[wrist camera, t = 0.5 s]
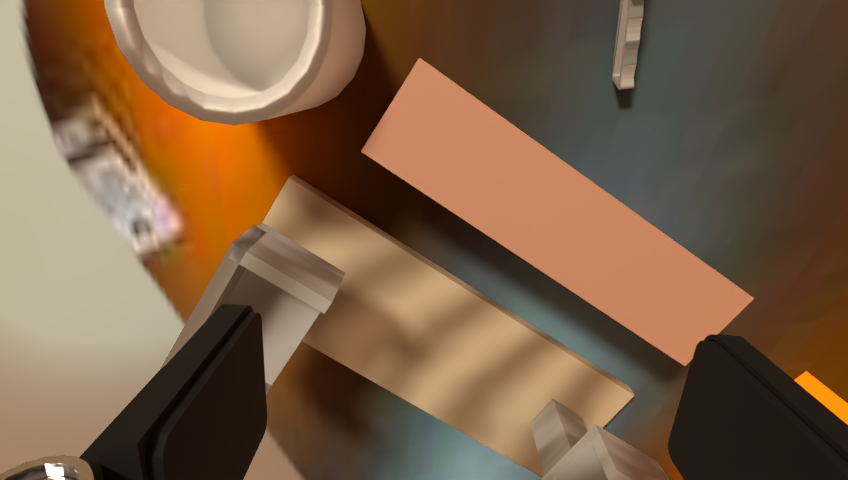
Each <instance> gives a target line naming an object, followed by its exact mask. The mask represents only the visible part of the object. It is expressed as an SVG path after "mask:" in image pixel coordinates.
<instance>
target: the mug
mask: <svg viewBox="0 0 848 480" xmlns="http://www.w3.org/2000/svg"><path fill="white" fill-rule="evenodd" d="M104 2H105V10H106V13H107V16H108V19H109V22H110V24H111V27H112V30H113V33H114V36H115V39H116V42H117V45H118V47H119V49H120V50H121V51H122V53H123V54H124V56H125V57H126V59H127V60H128V62H129V63H130V65H131V66H132V68H133V69H134V71H135V72H136V74H137V75H138V77H139V78H140V80H141V81H143V82H144V83H145V84H146V85H147V86H148V87H149V88H151V89H152V90H153V91H154V92H155V93H156V94H157V95H159V96H160V97H161V98H162V99H163V100H164V101H165V102H166V103H168V104H169V105H171V106H173V107H175V108H177V109H179V110H181V111H183V112H185V113H187V114H189V115H192V116H194V117H196V118H198V119H200V120H204V121H210V122H217V123H223V124H230V125H239V124H245V123H250V122H256V121H262V120H267V119H271V118H275V117H279V116H283V115H287V114H291V113H295V112H299V111H303V110H307V109H311V108H314V107H318V106H320V105H322V104H324V103H326V102H327V101H329V100H331V99H333V98H334V97H336V96H338V95H339V94H340V93H341V92H342V91H343V89H344V88H345V87H346V86H347V85H348V84H349V83H350V81H351V80H352V79H353V78H354V76H355V74H356V71H357V69H358V67H359V64H360V62H361V60H362V57H363V54H364V44H365V34H366V26H365V21H364V16H363V11H362V5H361V2H360V0H104Z"/></svg>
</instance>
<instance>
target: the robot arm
mask: <svg viewBox="0 0 848 480" xmlns="http://www.w3.org/2000/svg"><path fill="white" fill-rule="evenodd" d="M266 424H267V405H266V387H265V368H264V350H263V332H262V318H261V314H260V313H254V311H253V308H252V307H251V306H250V305H234V304H222V305H221V306H219V308H218V309H217V310H216V311H215V312H214V313H213V314H212V315H211V316H210V317H209V318H208V320H207V321H206V322H205V323H204V324H203V325H202V326H201V327H200V328H199V329H198V330H197V332H196V333H195V334H194V335H193V336H192V337H191V338H190V339H189V340H188V341H187V342H186V344H185V345H184V346H183V347H182V348H181V349H180V350H179V351H178V352H177V353H176V354H175V355H174V357H173V358H172V359H171V360H170V361H169V362H168V363H167V364H166V365H165V366H164V367H163V368H162V369H160V371H159V372H158V373H157V374H156V375H155V376H154V377H153V378H152V379H151V380H150V381H149V383H148V384H147V385H146V386H145V387H144V388H143V389H142V390H141V391H140V392H139V393H138V394H137V396H136V397H135V398H134V399H133V400H132V401H131V402H130V403H129V404H128V405H127V406H126V407H125V409H124V410H123V411H122V412H121V413H120V414H119V415H118V416H117V417H116V418H115V419H114V420H113V422H112V423H111V424H110V425H109V426H108V427H107V428H106V429H105V430H104V431H103V433H101V435H100V436H99V437H98V438H97V439H96V440H95V441H94V442H93V443H92V445H91V446H90V447H89V448H88V449H87V450H86V451H85V452H84V453H83V454H82V455H81V456H80V457H79V458H78V457H73V456H66V455H60V456H50V457H44V458H40V459H36V460H33V461H29V462H26V463H23V464H21V465H19V466H16V467H14V468H12V469H9V470H7V471H5V472H3V473H2V474H0V480H243V479H244V476H245V474H246V472H247V470H248V468H249V466H250V464H251V462H252V459H253V457H254V455H255V453H256V451H257V449H258V446H259V444H260V442H261V440H262V438H263V435H264V433H265V429H266ZM668 449H669V454H670V457H671V459H672V461H673V463H674V464H675V466H676V467H677V469H678V471H679V472H680V474H681V475H682V477H683V478H684V480H848V425H847V424H846V423H845V422H844V421H842V420H841V419H840V418H839V417H838V416H836V415H835V414H834V413H833V412H832V411H830V410H829V409H828V408H827V407H826V406H824V405H823V404H822V403H821V402H820V401H818V400H817V399H816V398H815V397H814V396H812V395H811V394H810V393H809V392H808V391H806V390H805V389H804V388H803V387H802V386H800V385H799V384H798V383H797V382H796V381H794V380H793V379H792V378H791V377H789V376H788V375H787V374H786V373H785V372H783V371H782V370H781V369H780V368H779V367H777V366H776V365H775V364H774V363H773V362H771V361H770V360H769V359H768V358H767V357H765V356H764V355H763V354H762V353H761V352H759V351H758V350H757V349H756V348H755V347H753V346H752V345H751V344H750V343H749V342H747V341H746V340H745V339H744V338H742V337H740V336H730V335H714V334H711V335H708V336H707V337H706V338H705V339H704V341H700V342H699V343H698V344H697V346H696V348H695V352H694V355H693V359H692V362H691V366H690V369H689V372H688V376H687V379H686V383H685V386H684V390H683V393H682V396H681V400H680V403H679V407H678V410H677V414H676V417H675V421H674V424H673V427H672V431H671V434H670V438H669V442H668Z"/></svg>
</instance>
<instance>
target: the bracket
mask: <svg viewBox="0 0 848 480" xmlns="http://www.w3.org/2000/svg"><path fill="white" fill-rule="evenodd" d="M643 6H644V0H621V2H620V10H619V19H618V27H617V35H616V43H615V51H614V59H613V76H612V80H613V82H614V83H615V85H616V86H617V88H618V89H619V90H621V89H630V88H633V87H634V73H635V68H636V64H637V52H638V47H639V43H640V30H641V24H642V19H643Z"/></svg>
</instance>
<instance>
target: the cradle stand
mask: <svg viewBox="0 0 848 480" xmlns="http://www.w3.org/2000/svg"><path fill="white" fill-rule="evenodd" d="M222 304H234V305H250V306H251V307H252V308H253V311H254V313H260V314H261V318H262V332H263V350H264V368H265V387H266V395H267V393H268V391H269V389H270V387H271V385H272V384H273V382H274V381H275V379H276V378H277V376H278V375H279V373H280V372H281V370H282V369H283V367H284V366H285V364H286V363H287V361H288V360H289V358H290V357H291V355H292V354H293V352H294V351H295V349H296V348H297V346H298V345H299V343H300V342H301V341H302V342H304V343H306V344H308V345H309V346H311V347H313V348H315V349H316V350H318V351H320V352H322V353H323V354H325V355H327V356H329V357H330V358H332V359H334V360H336V361H337V362H339V363H341V364H343V365H345V366H346V367H348V368H350V369H352V370H353V371H355V372H357V373H359V374H360V375H362V376H364V377H366V378H367V379H369V380H371V381H373V382H375V383H376V384H378V385H380V386H382V387H383V388H385V389H387V390H389V391H390V392H392V393H394V394H396V395H397V396H399V397H401V398H403V399H404V400H406V401H408V402H410V403H412V404H413V405H415V406H417V407H419V408H420V409H422V410H424V411H426V412H427V413H429V414H431V415H433V416H434V417H436V418H438V419H440V420H442V421H443V422H445V423H447V424H449V425H450V426H452V427H454V428H456V429H457V430H459V431H461V432H463V433H464V434H466V435H468V436H470V437H471V438H473V439H475V440H477V441H479V442H480V443H482V444H484V445H486V446H487V447H489V448H491V449H493V450H494V451H496V452H498V453H500V454H501V455H503V456H505V457H507V458H509V459H510V460H512V461H514V462H516V463H517V464H519V465H521V466H523V467H524V468H526V469H528V470H530V471H531V472H533V473H535V474H537V475H538V476H540V477H542V479H541V480H670V479H669V477H668V476H667V474H666V473H665V472H664V471H663V470H662V468H661V466H660V465H659V463H658V462H657V461H655V460H654V459H652V458H650V457H649V456H647V455H645V454H644V453H642V452H640V451H639V450H637V449H636V448H634V447H632V446H631V445H629V444H627V443H626V442H624V441H622V440H621V439H619V438H617V437H616V436H614V435H612V434H611V433H609V432H607V431H606V430H604V429H603V427H604V426H605V425H606V424H607V423H608V422H609V421H610V420H611V419H612V418H613V417H614V416H615V415H616V414H617V413H618V412H619V411H620V410H621V409H622V408H623V407H624V406H625V405H626V404H627V403H628V402H629V401H630V400H631V399H632V398H633V397H634V396H635V395H634V394H633V392H632V391H631V389H630V387H629V386H628V385H626V384H624V383H623V382H621V381H620V380H618V379H616V378H615V377H613V376H612V375H610V374H609V373H607V372H605V371H604V370H602V369H601V368H599V367H598V366H596V365H594V364H593V363H591V362H590V361H588V360H586V359H585V358H583V357H582V356H580V355H579V354H577V353H575V352H574V351H572V350H571V349H569V348H567V347H566V346H564V345H563V344H561V343H560V342H558V341H556V340H555V339H553V338H552V337H550V336H549V335H547V334H545V333H544V332H542V331H541V330H539V329H537V328H536V327H534V326H533V325H531V324H530V323H528V322H526V321H525V320H523V319H522V318H520V317H519V316H517V315H515V314H514V313H512V312H511V311H509V310H507V309H506V308H504V307H503V306H501V305H500V304H498V303H496V302H495V301H493V300H492V299H490V298H488V297H487V296H485V295H484V294H482V293H481V292H479V291H477V290H476V289H474V288H473V287H471V286H470V285H468V284H466V283H465V282H463V281H462V280H460V279H458V278H457V277H455V276H454V275H452V274H451V273H449V272H447V271H446V270H444V269H443V268H441V267H439V266H438V265H436V264H435V263H433V262H432V261H430V260H428V259H427V258H425V257H424V256H422V255H421V254H419V253H417V252H416V251H414V250H413V249H411V248H409V247H408V246H406V245H405V244H403V243H402V242H400V241H398V240H397V239H395V238H394V237H392V236H390V235H389V234H387V233H386V232H384V231H383V230H381V229H379V228H378V227H376V226H375V225H373V224H372V223H370V222H368V221H367V220H365V219H364V218H362V217H360V216H359V215H357V214H356V213H354V212H353V211H351V210H349V209H348V208H346V207H345V206H343V205H341V204H340V203H338V202H337V201H335V200H334V199H332V198H330V197H329V196H327V195H326V194H324V193H323V192H321V191H319V190H318V189H316V188H315V187H313V186H311V185H310V184H308V183H307V182H305V181H304V180H302V179H300V178H299V177H297V176H296V175H294V174H293V175H292V176H290V177H289V178H288V180H287V181H286V183H285V185H284V186H283V188H282V190H281V192H280V193H279V195H278V197H277V199H276V200H275V202H274V204H273V205H272V207H271V209H270V211H269V212H268V214H267V216H266V217H265V219H264V221H263V223H261V224H260V225H259V226H255V225H253V226H252V227H251V228H249V229H248V230H247V231H246V232H244V233H243V234H242V235H241V236H240V237H238V238H237V239H236V240H235V241H233V242H232V243H231V245H230V247H229V249H228V250H227V252H226V254H225V256H224V257H223V259H222V261H221V263H220V264H219V266H218V268H217V270H216V272H215V273H214V275H213V277H212V279H211V280H210V282H209V284H208V286H207V287H206V289H205V291H204V293H203V295H202V296H201V298H200V300H199V302H198V303H197V305H196V307H195V309H194V310H193V312H192V314H191V316H190V318H189V319H188V321H187V323H186V325H185V326H184V328H183V330H182V332H181V333H180V335H179V337H178V339H177V341H176V342H175V344H174V346H173V348H172V349H171V351H170V353H169V355H168V357H167V358H166V360H165V362H164V364H163V365H162V367H161V369H162V368H163V367H164V366H165V365H166V364H167V363H168V362H169V361H170V360H171V359H172V358H173V357H174V355H175V354H176V353H177V352H178V351H179V350H180V349H181V348H182V347H183V346H184V345H185V344H186V342H187V341H188V340H189V339H190V338H191V337H192V336H193V335H194V334H195V333H196V332H197V330H198V329H199V328H200V327H201V326H202V325H203V324H204V323H205V322H206V321H207V320H208V318H209V317H210V316H211V315H212V314H213V313H214V312H215V311H216V310H217V309H218V308H219V306H221V305H222Z"/></svg>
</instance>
